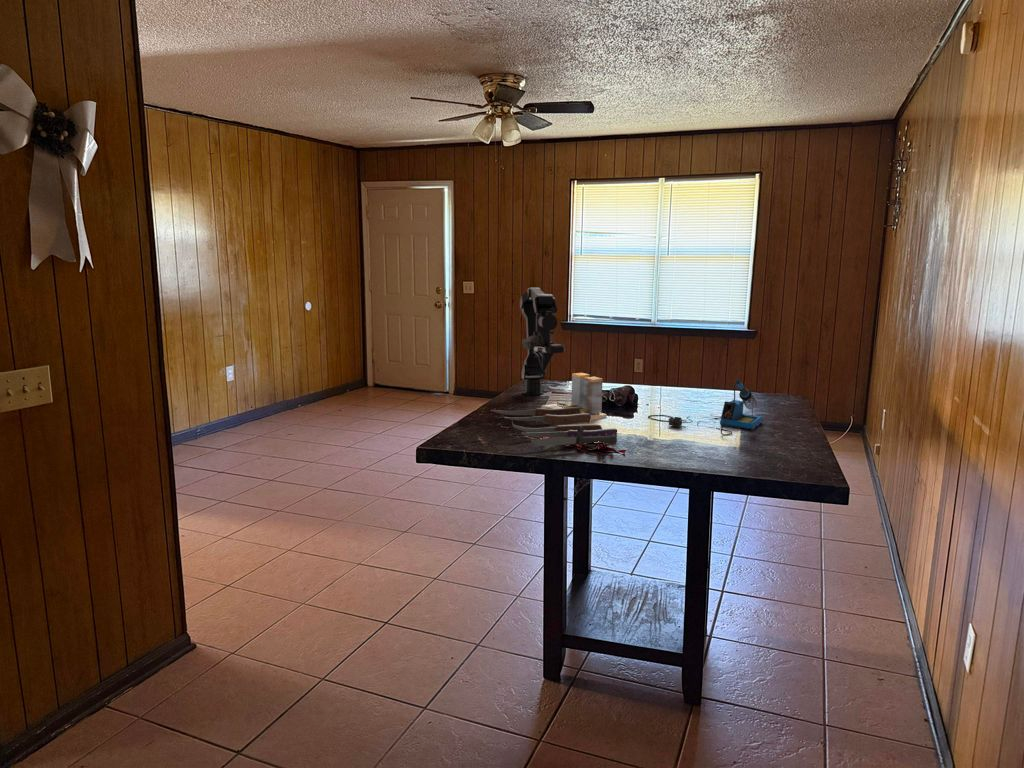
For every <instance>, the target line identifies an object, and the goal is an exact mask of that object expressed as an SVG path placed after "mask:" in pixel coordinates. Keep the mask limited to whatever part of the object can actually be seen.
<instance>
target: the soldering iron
mask: <svg viewBox="0 0 1024 768" xmlns="http://www.w3.org/2000/svg"><path fill="white" fill-rule="evenodd" d="M736 386H737V388H738V391H739V393H738V396H739V398H740V400H736ZM757 404H758V402H757V399H756V397H754V395H753V393H752V392H751V390H749V389H748V388H746V387H745V385H744V384H743V383H742V381H741V380H740V379H737V380H735V383H734V385H733V399H732V400H730V401H726V400H725V401H724V404H723V408H722V411H721V416H717V415H714V417H713V413H712V414H709V416H711V417H712V418H709V417H707V416H706V417H704V416H703V417H702V416H701V418H706V419H707V418H709V420H710V421H712V422H713V420H719V419H720V420H719V425H720V426H721V428H719V427H715V428H716V430H720V429H721V430H720V434H721V435H722V436H730V435H732V434H733V431H731V430H728V429H725V428H724V427H729V428H735V427H736V428H737V429H742V428H745V429H744V430H748V429H753V428H754V427H756V426H757V425H758V424H760V423H761V424H762V422H763V421H762V419H763V417H762V416H761V415H760V416H759V415H754V408H755V407H757ZM744 406H745V408H747V409H749V410H752V411H751V414H745V413H744ZM647 417H648V418H649V419H650V420H653V421H659V422H668V426H669V427H670V426H672V427H673V428H675V429H680V428H684V429H687V426H684V425H683V424H684V423H685V424H691V423H693V420H692V419H690V418H689V416H686V419H687V420H689V421H688V422H687V420H685V419H683V418H681V417H679V416H674V417H673V416H669V415H665V414H652V415H648V416H647ZM652 417H667V418H668V420H663V419H662V420H661V419H656V418H652ZM696 423H697V424H696V426H697V427H699V423H703V421H700V420H699V421H697V422H696ZM705 423H706V424H709V422H706V421H705ZM716 423H717V422H716V421H714V424H716ZM761 424H760V425H761ZM758 426H759V425H758ZM758 426H757V427H758ZM757 427H756V428H757ZM707 428H708V429H709V428H711V429H714V427H713V426H707ZM707 428H706V429H707ZM754 429H755V428H754ZM754 429H753V430H754ZM723 431H725V432H729V433H725V434H724V433H723Z"/></svg>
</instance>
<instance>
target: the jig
mask: <svg viewBox="0 0 1024 768" xmlns="http://www.w3.org/2000/svg"><path fill="white" fill-rule="evenodd" d="M603 381H604V380H603V378H602V377H597V376H590V377H587V378H585V380H584V408H580V414H582V413H589V414H590V415H591V420H590V421H596V420H600V419H606V418H607V414H606V413H603V412H602V406H603V405H602V404H603ZM557 404H559V405H563V406H567V405H571V403H569V402H566V403H565V401H563V400H562V401H556V403H551V404H550V403H549V404H543V405H541V407H540V408H545V409H557V408H562V407H559V406H557Z"/></svg>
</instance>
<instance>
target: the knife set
mask: <svg viewBox="0 0 1024 768" xmlns="http://www.w3.org/2000/svg"><path fill="white" fill-rule="evenodd" d="M491 411H492V412H493V413H496V414H501V415H506V416H503V418H504V419H507V420H511V425H512V427H513V428H514V429H515V430H519V431H522V432H521V435H523V436H527V437H528V436H529V437H534V438H536V437H537V439H530V441H531V443H533V444H535V445H536V446H537V447H538V446H539V447H549V446H558V445H559V446H561V445H562V446H563V445H565V446H566V445H576V444H578V445H579V447H580V446H581V445H582V444H584V443H591V442H598V441H599V442H604V443H608V444H609V445H616V444H617V442H618V438H617V435H618V430H617V429H618V428H617V429H616V428H603V427H602V425H600V424H597V423H595V424H594V423H593V424H592V423H591V421H592V420H591V415H590V414H589V413H582V414H580V408H579V407H567V408H557V409H545V408H541V407H536V408H534V409H524V410H523V409H521V410H520V409H519V410H498V409H497V410H496V409H491ZM507 415H509V417H508V416H507ZM528 415H529V416H528ZM511 416H514V417H511ZM515 416H516V417H515ZM517 416H522V417H517ZM523 416H525V417H523ZM513 421H524V422H525V421H540V422H541V423H545V425H554V426H550V427H549V426H548V427H547V426H546V427H524V426H520V425H516V424H514V422H513ZM538 437H539V438H538ZM546 437H552V438H546ZM584 445H585V444H584ZM582 446H583V445H582Z"/></svg>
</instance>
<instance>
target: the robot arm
mask: <svg viewBox="0 0 1024 768" xmlns="http://www.w3.org/2000/svg"><path fill="white" fill-rule="evenodd" d="M555 298H556V297H554V295H553V294H552V293H551V294H550V293H545V292H544V291H542V288H541V287H529V288H528V287H527V290H526V292H524V293H523V294H522V295H521V296H520V300H519V309H520V310H521V315H522V316H523V317H524V319H525V325H526V326H525V327H526V329H525V330H526V338H523V339H522V340H521V341H522V342H521V343H522V346H523V349H524V350H527V356H526V358H525V360H524V361H523V365H522V369H521V379H522V380H524V391H521V394H524V395H528V396H536V395H537V396H539V395H544V392H543V391H542V389H541V386H542V383H541V382H542V381H541V380H545V379H546V378H545V377H546V371H547V367H548V366H549V362H550V360H551V359H552V357H553V355H554V354H562V353H565V346H564V345H563V344H559V343H554V341H552V335H554V333H555V332H554V330H555V329H556V328H557V326H558V323H559V322H558V318H556V316H555V315H554V314H557V313H558V305H557V302H556V301H557V300H556V299H555Z"/></svg>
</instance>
